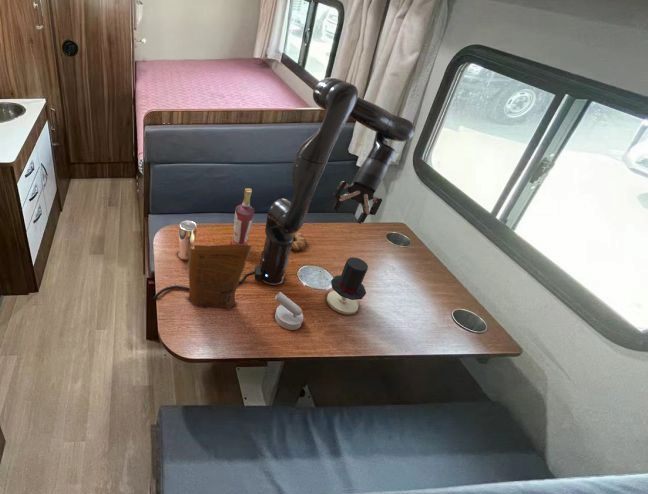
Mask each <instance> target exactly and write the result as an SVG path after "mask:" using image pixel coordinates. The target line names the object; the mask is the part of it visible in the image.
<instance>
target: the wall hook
mask: <svg viewBox="0 0 648 494" xmlns="http://www.w3.org/2000/svg"><path fill="white" fill-rule="evenodd" d="M274 301H276V302H277V303H279V304H280V305H278V306H277V307H276V310H275V314H274V319H275V321H276V323H277V324H278V326H280V327H282V328H283V329H285V330H289V331H290V330H291V331H295V330H299V328H301V327H302V324H303V321H304V314H303V310H302V308H301V307H300V306H299V305H298V304H296V303H295V302H294V301H292V299H290V298H289V297H287V296H286V295H285V294H283V292H281V291H279V292H278V293H276V295H275V297H274Z"/></svg>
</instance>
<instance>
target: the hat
mask: <svg viewBox="0 0 648 494" xmlns="http://www.w3.org/2000/svg"><path fill="white" fill-rule="evenodd" d="M368 267H369V266H368V264H367V262H366V261H365V260H363V259H361V258H359V257H355V256H354V257H353V256H352V257H348V259H347V260H346V261H345V264H344V267H343V269H342V272H341V274H339V275H335V276H334V277H333V278H332V279H331V280H330V284H331V287H332V291H334V290H335V291H336V292H337V293H338V294H339V295H340V296H342V297H345V298H348V299H350V300H357V301H358V300H362V299H363V298H364V297H365V296H366V294H367V291H366V288H365V286H364V284H363V282H364V279H365V277H366V274H367V272H368Z"/></svg>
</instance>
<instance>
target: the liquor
mask: <svg viewBox="0 0 648 494" xmlns="http://www.w3.org/2000/svg"><path fill="white" fill-rule="evenodd" d="M252 192H253V189H252V188H249V187H245V188H244V193H243V200H242V203H241V204H238V205H237V206H235V210H234V218H233V219H234V220H233V230H232V231H233V232H232V240H231V241H230V245H248V239H249V235H250V231H251V228H252V224H253V219H254V215H255V212H256V211H255V208H254V207H252V206H251V196H252V194H253V193H252Z"/></svg>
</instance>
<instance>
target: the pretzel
mask: <svg viewBox="0 0 648 494" xmlns="http://www.w3.org/2000/svg"><path fill="white" fill-rule="evenodd" d="M292 235H293V238H294V240H293V244H292V248H291V251H295V252H296V251H300V250H301V251H302V250H304V249H305V247H306V246H307V244H308V243H307V242H308V241H307V239H306V237H305V236H304V235H303V233H300V232H298V231H297V232H296V233H294V234H292Z"/></svg>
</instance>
